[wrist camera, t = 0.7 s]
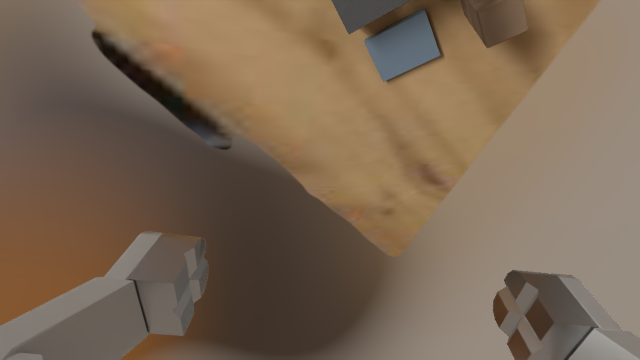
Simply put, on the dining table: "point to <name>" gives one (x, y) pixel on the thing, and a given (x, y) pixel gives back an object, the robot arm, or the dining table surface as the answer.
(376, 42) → the pad
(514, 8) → the brown block
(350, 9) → the guard
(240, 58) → the dining table surface
